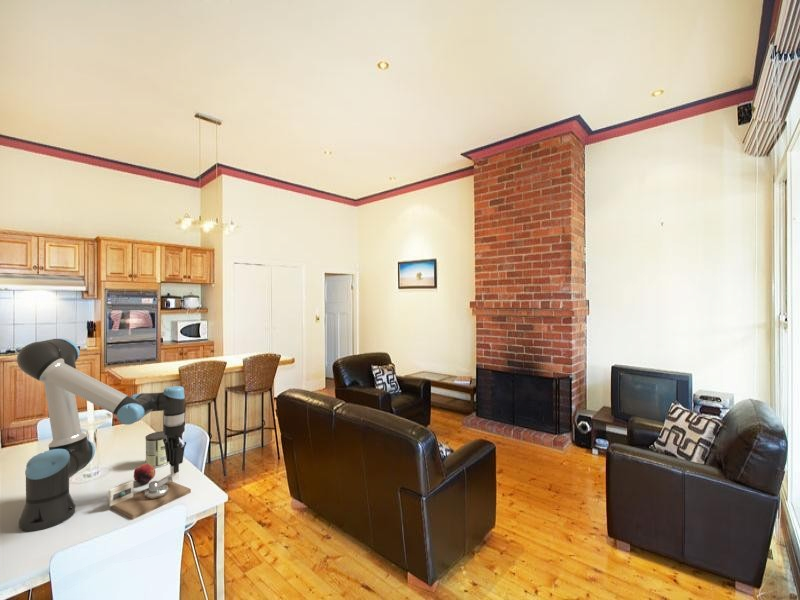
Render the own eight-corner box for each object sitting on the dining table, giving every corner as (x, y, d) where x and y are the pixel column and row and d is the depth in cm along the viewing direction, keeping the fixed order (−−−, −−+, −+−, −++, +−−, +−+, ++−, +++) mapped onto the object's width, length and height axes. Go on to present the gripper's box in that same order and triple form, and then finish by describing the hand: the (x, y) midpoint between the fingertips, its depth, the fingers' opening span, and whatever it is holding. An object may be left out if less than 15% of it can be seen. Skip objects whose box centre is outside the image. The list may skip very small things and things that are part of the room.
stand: (130, 520, 139) (130, 500, 139) (107, 508, 146) (107, 489, 146) (190, 492, 159) (190, 474, 159) (168, 483, 167) (168, 466, 167)
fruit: (156, 477, 172) (156, 460, 172) (152, 485, 164) (152, 467, 164) (136, 480, 169) (136, 462, 169) (131, 488, 162) (131, 470, 162)
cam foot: (156, 500, 149) (156, 487, 149) (139, 497, 151) (139, 484, 151) (185, 482, 164) (185, 470, 163) (169, 480, 165) (169, 468, 165)
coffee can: (155, 458, 192) (156, 430, 192) (175, 459, 191) (175, 431, 191) (140, 467, 181) (140, 438, 181) (160, 468, 180) (160, 439, 180)
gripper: (192, 423, 161) (192, 479, 161) (174, 419, 167) (174, 472, 167) (174, 428, 154) (174, 487, 154) (156, 423, 161) (156, 480, 161)
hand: (174, 479), depth 161 cm, fingers closed
